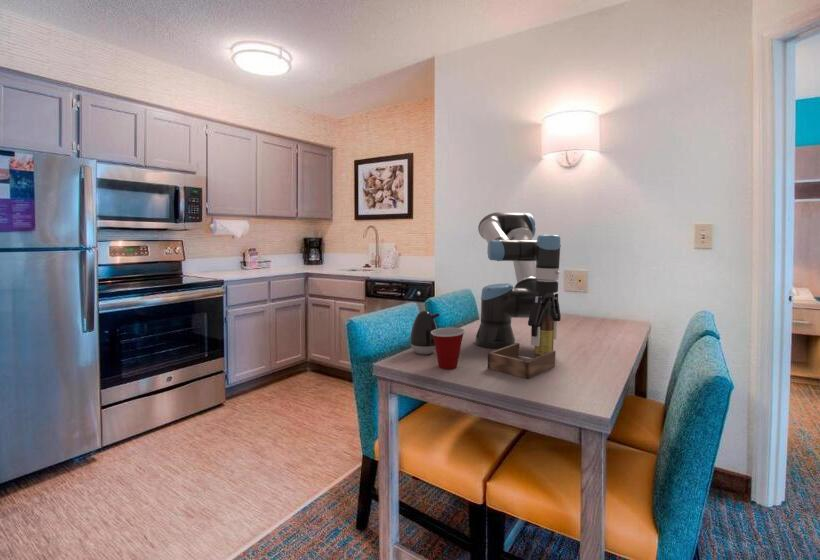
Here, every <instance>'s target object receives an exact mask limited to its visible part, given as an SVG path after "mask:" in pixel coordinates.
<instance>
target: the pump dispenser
mask: <svg viewBox="0 0 820 560" xmlns="http://www.w3.org/2000/svg"><path fill="white" fill-rule="evenodd" d="M437 317H440V313H434V314H432V313H431V312H430V311H427V310H422V311H419V312H418V313H417V314H416V316H415V318H414V320H413V323H412V325H411V330H410V338H409V344H410V346H411V348H412V350H413V351H414V353H417V354H418V355H431V354H432V353H434V352H436V348H435V342H434V338H433V336H432V334H431V331H433V330H435V329H438V327H437V324H436V322H435V318H437Z"/></svg>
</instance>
